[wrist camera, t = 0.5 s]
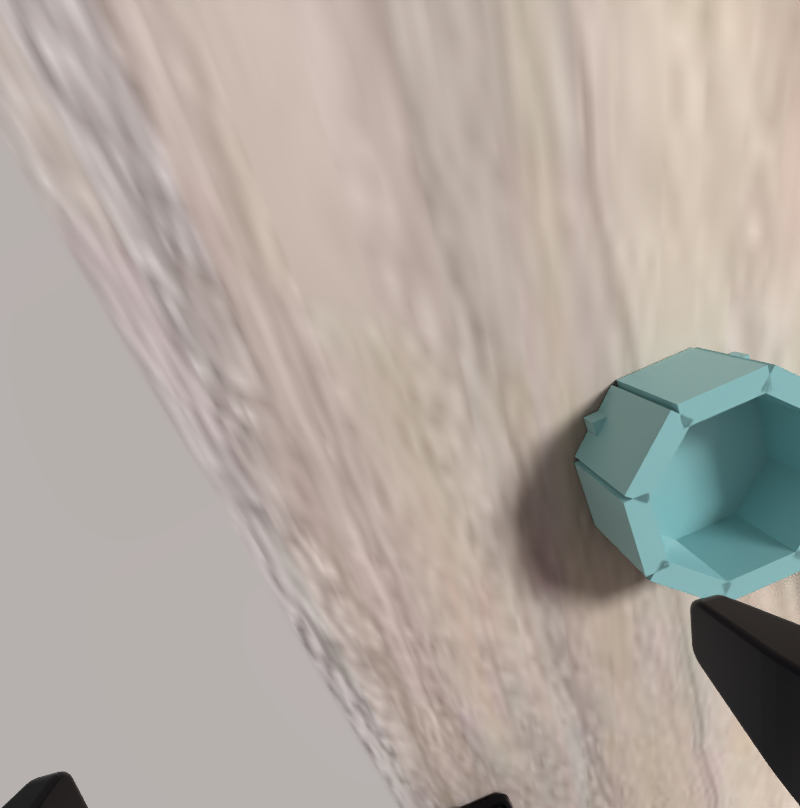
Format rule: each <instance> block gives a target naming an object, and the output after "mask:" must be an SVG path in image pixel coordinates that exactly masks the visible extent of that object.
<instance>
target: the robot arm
mask: <svg viewBox="0 0 800 808" xmlns="http://www.w3.org/2000/svg"><path fill="white" fill-rule="evenodd" d="M690 614H691V633H692V647H693V651H694V654H695V656H696V658H697V660H698V662H699V664H700V665H701V667H702V668H703V670H704V671H705V673H706V674H707V676H708V677H709V679H710V680H711V682H712V683H713V685H714V686H715V688H716V689H717V690H718V692H719V693H720V695H721V696H722V698H723V699H724V701H725V702H726V704H727V705H728V707H729V708H730V710H731V711H732V712H733V714H734V715H735V717H736V718H737V720H738V721H739V723H740V724H741V726H742V727H743V729H744V730H745V732H746V733H747V734H748V736H749V737H750V739H751V740H752V742H753V743H754V745H755V746H756V748H757V749H758V751H759V752H760V754H761V755H762V756H763V758H764V759H765V761H766V762H767V763H768V765H769V766H770V768H771V769H772V770H773V772H774V773H775V775H776V776H777V777H778V778H779V780H780V781H781V782H782V784H783V785H784V786H785V787H786V789H787V790H788V791H789V793H790V794H791V795H792V796H793V798H794V799H795V800H796V801H797V802H798V804H799V805H800V625H799V624H796V623H793V622H791V621H788V620H786V619H783V618H780V617H778V616H775V615H773V614H770V613H768V612H765V611H762V610H760V609H757V608H755V607H752V606H750V605H747V604H744V603H742V602H739V601H737V600H734V599H732V598H729V597H726V596H723V595H713V596H709V597H705V598H702V599H698V600H695V601H694V602H693V603H692V604H691V607H690ZM2 808H88V807H87V805H86V803H85V801H84V799H83V797H82V795H81V793H80V791H79V789H78V788H77V786H76V784H75V782H74V780H73V778H72V777H71V775H70V774H68V773H66V772H57V773H53V774H50V775H46V776H42V777H38V778H36V779H34V780H32V781H30V782H29V783H28V784H26V785H25V786H24V787H23V788H22V789H21V790H20V791H19V792H18V793H17V794H16V795H15V796H14V797H13V798H12V799H11V800H10V801H9V802H8V803H6V804H5V805H4V806H3V807H2ZM468 808H513V806H512V804H511V802H510V800H509V798H508V796H507V795H505V794H498V795H495V796H493V797H490V798H488V799H486V800H484V801H481V802H479V803H477V804H475V805H472V806H470V807H468Z"/></svg>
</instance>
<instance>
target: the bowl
mask: <svg viewBox="0 0 800 808" xmlns="http://www.w3.org/2000/svg"><path fill="white" fill-rule="evenodd" d="M617 384H618V387H619V388H618V387H616V386H613V385H611V386H610V388H609V390H608V392H607V394H606V396H605V398H604V400H603V402H602V404H601V406H600V408H599V410H598V411H597V412H594V413H592V414H590V415H588V416H585V417H583V418H584V421H585V424H586V427H587V433H586V435H585V437H584V439H583V441H582V443H581V445H580V447H579V449H578V451H577V453H576V455H575V457H576V458H577V459H579V460H578V461H576V462H574V463H575V467H576V470H577V473H578V476H579V479H580V482H581V485H582V488H583V491H584V494H585V497H586V500H587V503H588V506H589V509H590V512H591V515H592V518H593V521H594V524H595V526H596V527H597V528H598V529H599V530H600V531H601V532H602V533H603V534H604V535H605V536H606V537H607V538H608V539H609V540H610V541H611V542H612V543H613V544H614V545H615V546H616V547H617V548H618V549H619V550H620V551H621V552H622V553H623V554H624V555H625V556H626V557H627V558H628V559H629V560H630V561H631V562H632V563H633V564H634V565H635V566H636V567H637V568H638V569H639V570H640V571H641V572H642V573H643V574H644V575H645V576H646V577H647V578H648V579H649V580H650V581H652V582H655V583H658V584H661V585H664V586H667V587H670V588H673V589H676V590H679V591H682V592H685V593H688V594H691V595H694V596H697V597H700V598H705V597H709V596H713V595H723V596H726V597H729V598H732V599H734V600H735V599H738V598H740V597H742V596H744V595H747V594H749V593H751V592H754V591H756V590H758V589H760V588H763V587H765V586H767V585H770V584H772V583H774V582H776V581H779V580H781V579H783V578H786V577H788V576H790V575H792V574H795V573H797V572H799V571H800V376H798V375H796V374H794V373H791V372H789V371H787V370H785V369H783V368H781V367H779V366H777V365H774V364H769V363H765V362H760V361H756V360H751V359H750V358H749V355H748V354H743V353H738V352H732V353H730V354H724V353H720V352H715V351H711V350H706V349H702V348H696V349H695V348H689V349H686V350H684V351H682V352H680V353H677V354H675V355H673V356H670V357H668V358H666V359H663V360H661V361H659V362H657V363H654V364H652V365H650V366H647V367H645V368H643V369H640V370H638V371H636V372H634V373H631V374H629V375H627V376H624V377H622V378H620V379H617Z"/></svg>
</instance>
